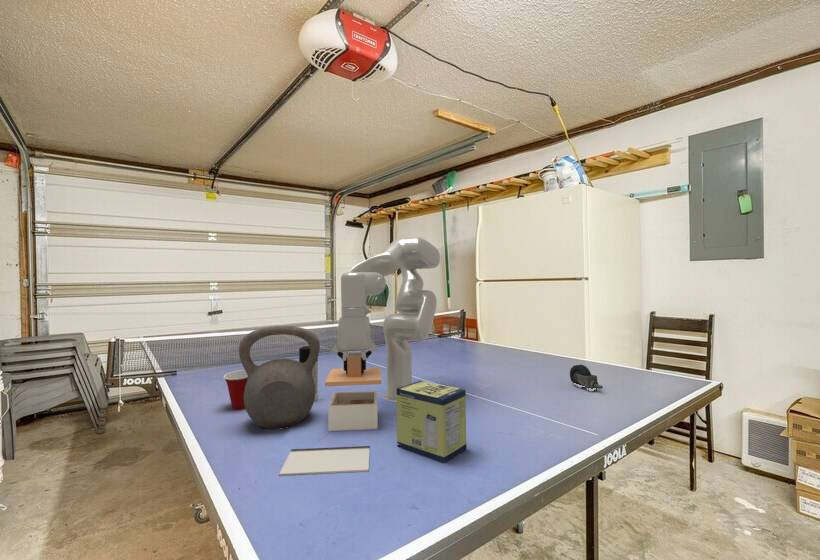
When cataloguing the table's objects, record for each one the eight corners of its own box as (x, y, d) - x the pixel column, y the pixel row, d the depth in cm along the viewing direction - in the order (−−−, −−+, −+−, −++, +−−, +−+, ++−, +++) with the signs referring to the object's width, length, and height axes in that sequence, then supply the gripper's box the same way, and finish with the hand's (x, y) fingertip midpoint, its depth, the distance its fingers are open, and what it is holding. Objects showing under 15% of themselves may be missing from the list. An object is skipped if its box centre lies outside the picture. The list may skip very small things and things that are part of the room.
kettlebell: (233, 437, 109) (233, 330, 109) (244, 416, 126) (243, 324, 126) (320, 429, 115) (320, 327, 115) (319, 410, 132) (319, 322, 132)
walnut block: (369, 415, 123) (369, 399, 123) (369, 422, 117) (369, 405, 117) (350, 416, 122) (350, 400, 122) (349, 423, 116) (349, 406, 116)
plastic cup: (216, 409, 133) (216, 374, 133) (243, 400, 143) (242, 368, 143) (237, 414, 128) (237, 377, 128) (263, 404, 138) (263, 371, 138)
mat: (370, 436, 108) (370, 435, 108) (368, 471, 89) (368, 469, 89) (297, 439, 107) (297, 438, 107) (279, 475, 87) (279, 473, 87)
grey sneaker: (567, 388, 160) (596, 394, 146) (565, 364, 161) (594, 368, 147) (578, 386, 162) (608, 392, 148) (576, 363, 163) (605, 366, 149)
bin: (377, 415, 126) (377, 390, 126) (377, 432, 112) (377, 404, 112) (334, 417, 124) (333, 392, 125) (328, 434, 111) (328, 406, 111)
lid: (381, 370, 127) (380, 348, 127) (381, 384, 111) (381, 359, 111) (331, 372, 126) (331, 350, 126) (325, 386, 110) (324, 361, 110)
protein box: (420, 434, 110) (419, 379, 110) (467, 449, 100) (466, 389, 100) (395, 446, 102) (395, 387, 102) (444, 464, 92) (444, 398, 92)
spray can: (320, 399, 144) (320, 345, 144) (314, 405, 137) (314, 348, 137) (303, 399, 144) (303, 345, 144) (296, 404, 137) (295, 348, 138)
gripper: (381, 311, 123) (382, 368, 123) (327, 312, 121) (328, 370, 122) (381, 313, 115) (382, 374, 115) (324, 314, 114) (325, 376, 114)
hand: (355, 372), depth 119 cm, fingers closed on lid, 4 cm apart
